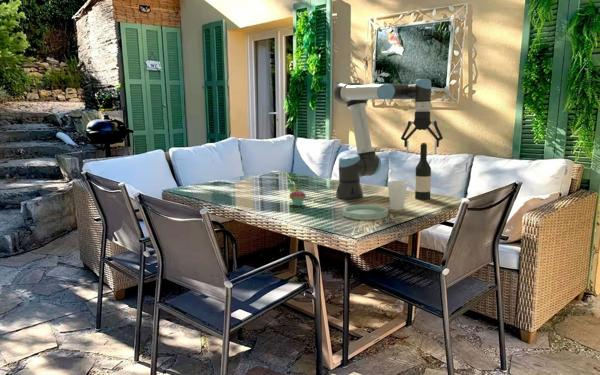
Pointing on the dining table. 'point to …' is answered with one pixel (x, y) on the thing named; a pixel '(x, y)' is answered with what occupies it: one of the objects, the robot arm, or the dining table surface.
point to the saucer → (365, 212)
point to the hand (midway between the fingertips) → (421, 153)
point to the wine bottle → (423, 176)
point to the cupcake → (297, 197)
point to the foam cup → (397, 194)
